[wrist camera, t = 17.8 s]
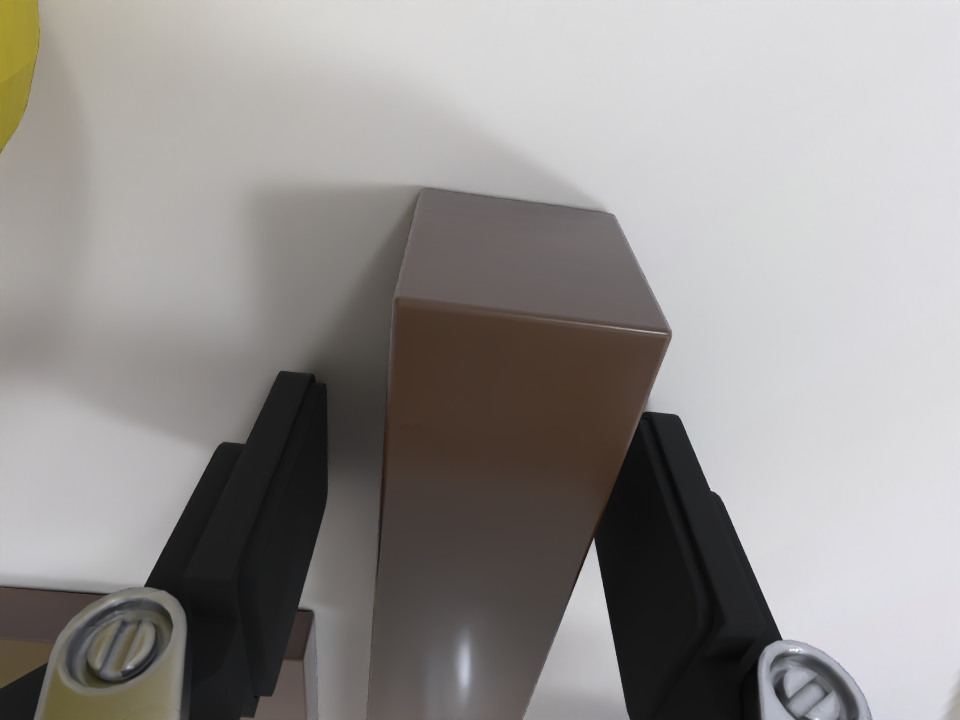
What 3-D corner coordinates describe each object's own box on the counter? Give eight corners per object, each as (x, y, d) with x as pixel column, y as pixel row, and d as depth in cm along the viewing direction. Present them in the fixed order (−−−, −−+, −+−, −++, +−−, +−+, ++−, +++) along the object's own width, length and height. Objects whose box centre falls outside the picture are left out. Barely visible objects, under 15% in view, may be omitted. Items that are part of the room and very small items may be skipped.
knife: (420, 185, 8) (392, 298, 6) (616, 212, 8) (677, 333, 6) (369, 796, 21) (353, 920, 18) (449, 801, 21) (444, 923, 18)
